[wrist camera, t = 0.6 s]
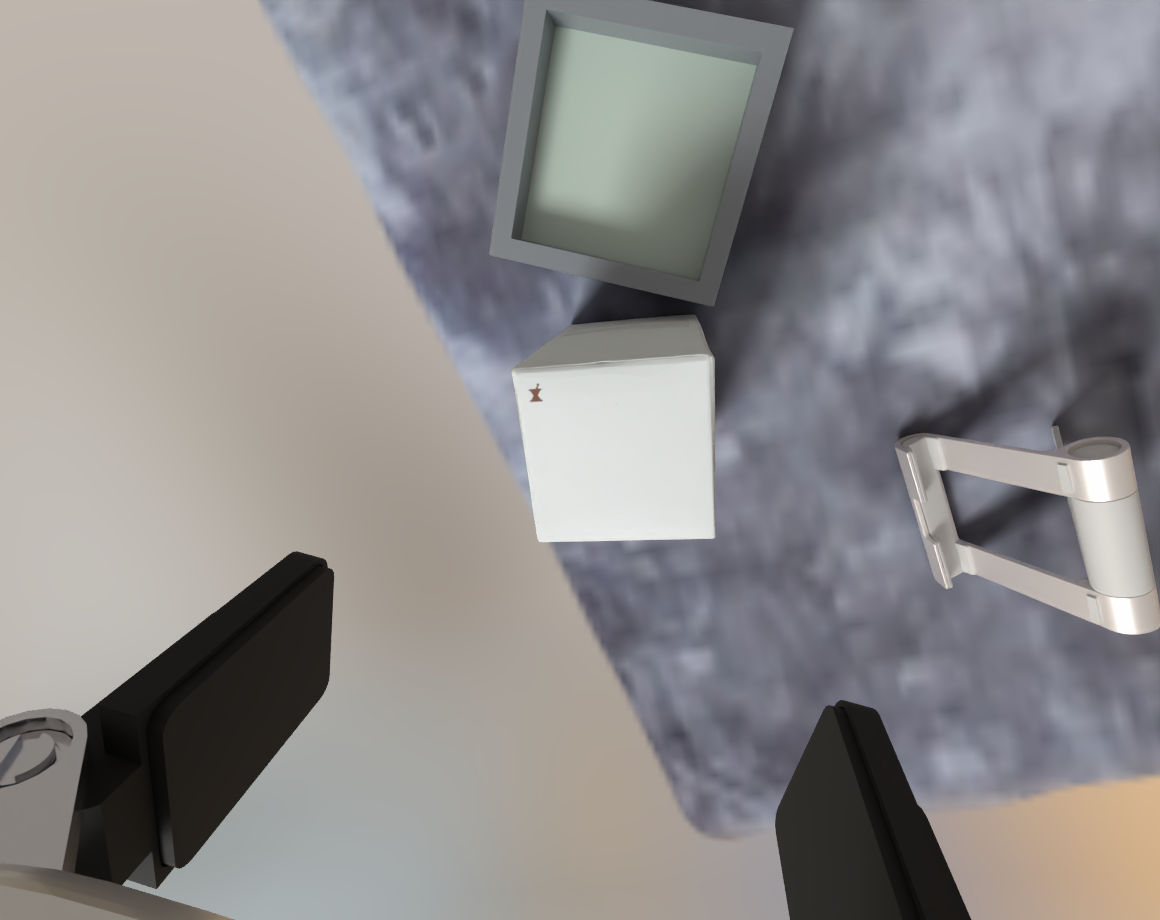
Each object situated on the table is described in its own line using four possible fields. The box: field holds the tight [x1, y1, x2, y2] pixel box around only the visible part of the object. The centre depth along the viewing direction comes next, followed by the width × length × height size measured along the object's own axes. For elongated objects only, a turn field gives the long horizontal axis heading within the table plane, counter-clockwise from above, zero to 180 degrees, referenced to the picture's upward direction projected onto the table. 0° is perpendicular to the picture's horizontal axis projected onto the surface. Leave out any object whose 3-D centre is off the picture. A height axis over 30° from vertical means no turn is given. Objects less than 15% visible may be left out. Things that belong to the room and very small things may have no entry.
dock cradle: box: [489, 0, 794, 307], centre depth 28 cm, size 12×12×3 cm
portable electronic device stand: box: [894, 426, 1160, 634], centre depth 28 cm, size 9×8×8 cm
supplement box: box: [512, 315, 715, 542], centre depth 27 cm, size 7×7×13 cm
